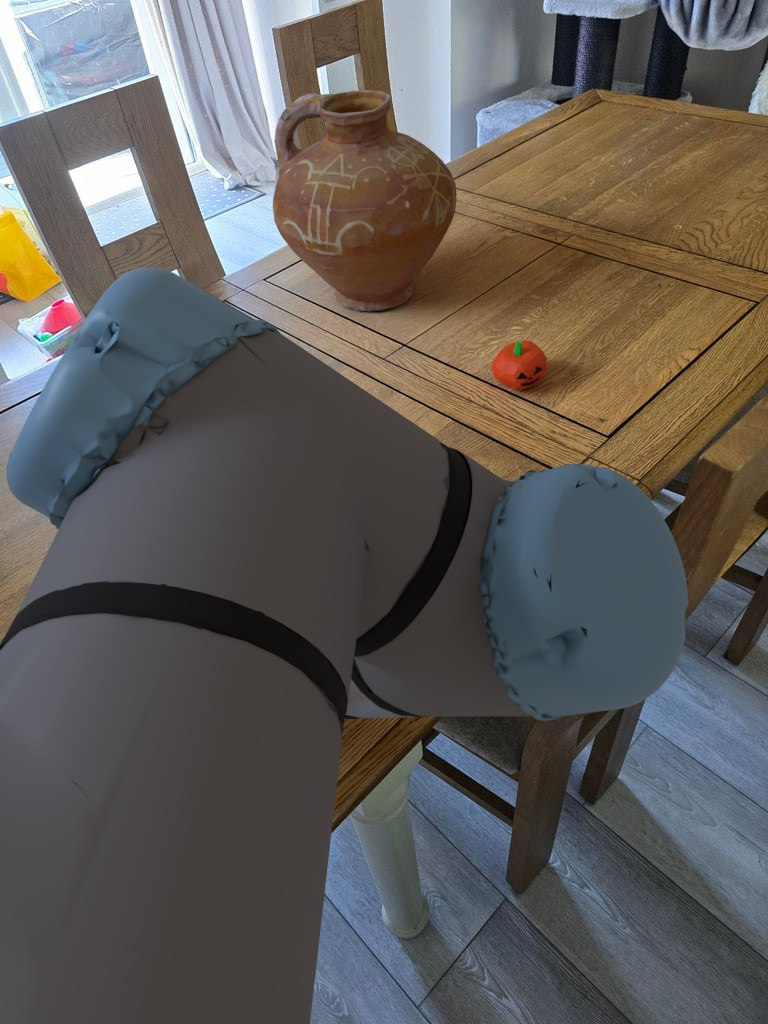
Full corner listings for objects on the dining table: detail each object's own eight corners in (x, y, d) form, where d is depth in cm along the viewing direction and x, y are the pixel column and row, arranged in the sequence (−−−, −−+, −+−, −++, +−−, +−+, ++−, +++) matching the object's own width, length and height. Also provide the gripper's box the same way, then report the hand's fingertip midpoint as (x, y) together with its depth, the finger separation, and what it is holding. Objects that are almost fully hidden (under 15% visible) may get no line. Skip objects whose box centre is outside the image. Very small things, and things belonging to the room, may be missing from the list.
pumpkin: (554, 372, 97) (558, 331, 93) (529, 403, 93) (533, 362, 88) (508, 360, 100) (510, 320, 96) (482, 389, 96) (482, 348, 92)
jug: (403, 356, 104) (386, 138, 82) (257, 317, 116) (209, 119, 94) (486, 273, 120) (490, 73, 98) (350, 247, 131) (327, 63, 110)
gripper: (236, 944, 26) (113, 858, 43) (525, 525, 40) (345, 585, 57) (91, 813, 25) (24, 778, 42) (444, 425, 39) (284, 518, 56)
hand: (209, 667), depth 50 cm, fingers open, 13 cm apart
